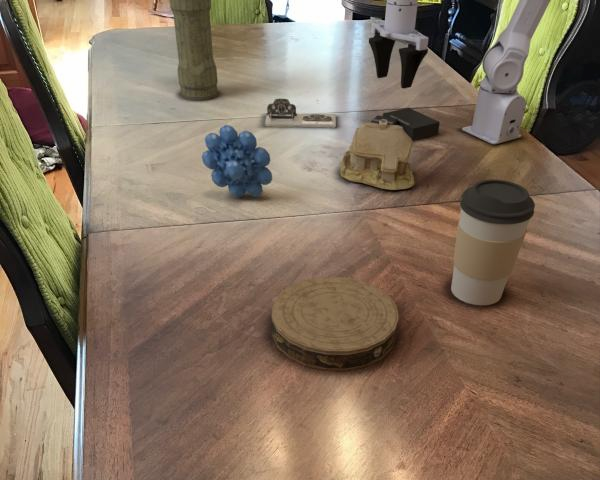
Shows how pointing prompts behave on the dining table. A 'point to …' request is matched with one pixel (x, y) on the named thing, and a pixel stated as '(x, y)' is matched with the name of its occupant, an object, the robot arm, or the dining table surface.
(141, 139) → the dining table surface
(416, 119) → the base pad
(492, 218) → the coffee cup
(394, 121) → the black rectangular block
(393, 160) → the ceramic model
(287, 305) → the wood slice
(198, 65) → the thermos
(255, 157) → the blue knobbed flower
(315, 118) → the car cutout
